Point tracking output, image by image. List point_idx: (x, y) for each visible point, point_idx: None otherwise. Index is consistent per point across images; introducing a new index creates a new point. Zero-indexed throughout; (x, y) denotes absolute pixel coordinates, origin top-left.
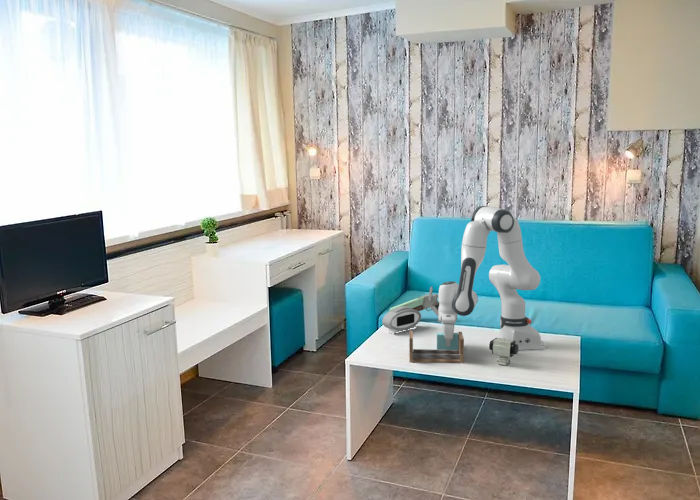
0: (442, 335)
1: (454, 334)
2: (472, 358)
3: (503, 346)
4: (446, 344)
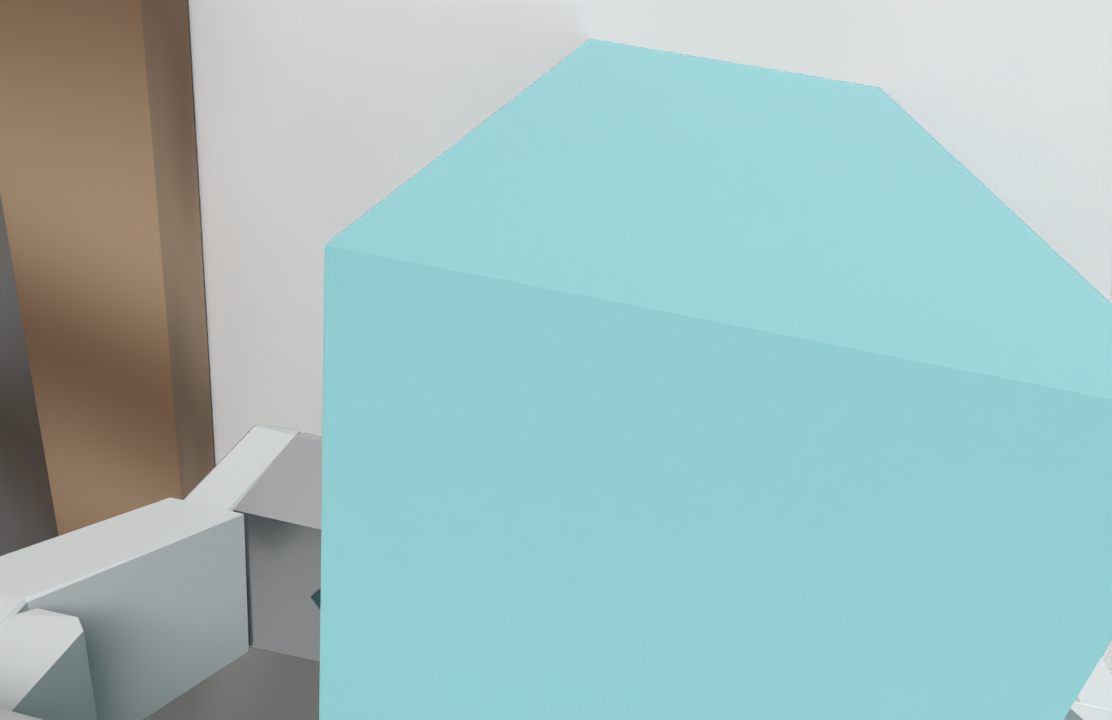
0: (342, 643)
1: None
2: None
3: None
4: (230, 459)
